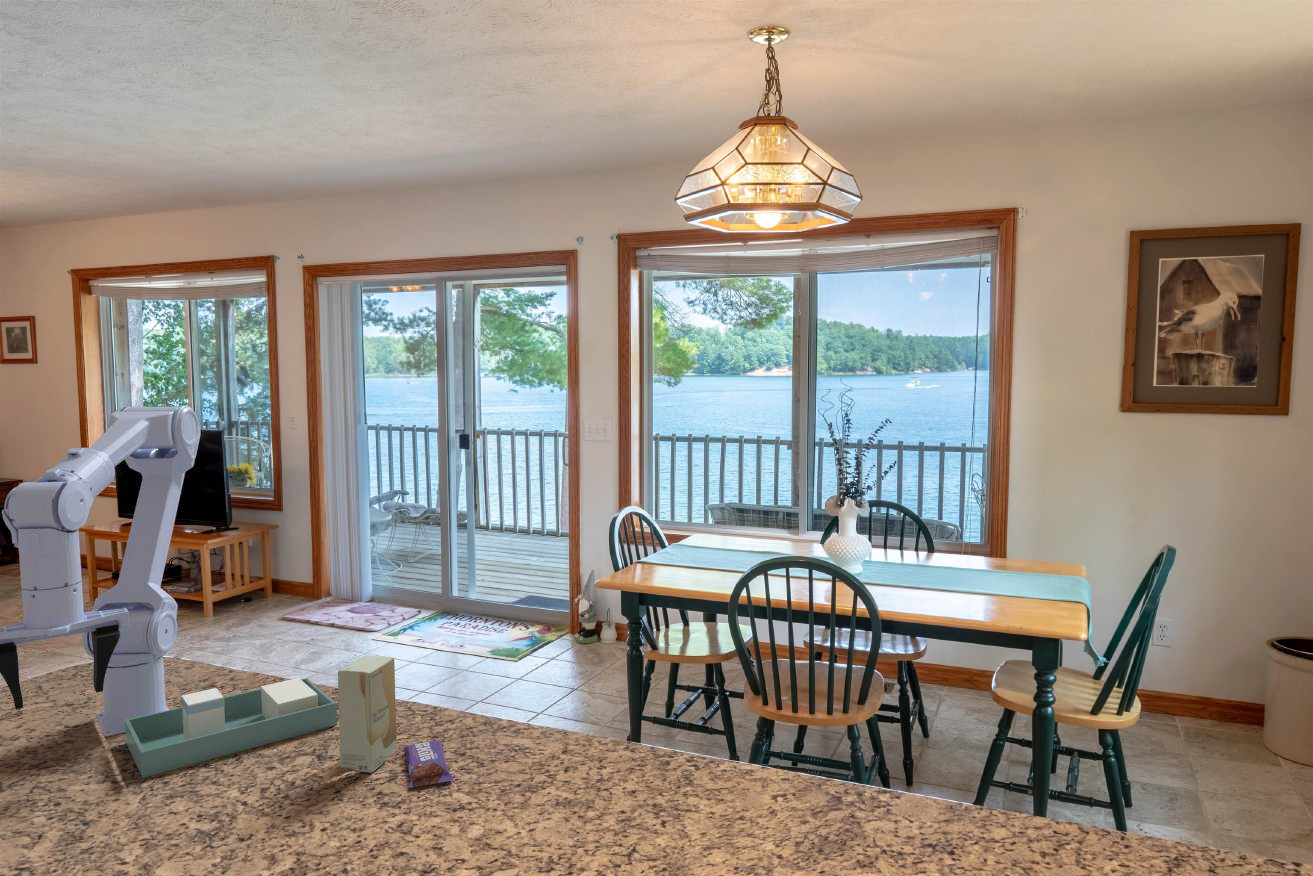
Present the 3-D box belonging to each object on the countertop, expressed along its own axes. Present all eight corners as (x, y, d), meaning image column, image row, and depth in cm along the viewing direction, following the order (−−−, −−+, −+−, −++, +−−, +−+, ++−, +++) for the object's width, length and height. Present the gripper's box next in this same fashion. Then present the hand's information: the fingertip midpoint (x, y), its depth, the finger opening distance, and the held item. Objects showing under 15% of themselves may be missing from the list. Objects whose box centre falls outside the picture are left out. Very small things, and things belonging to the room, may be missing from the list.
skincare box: (372, 774, 100) (368, 673, 99) (338, 771, 101) (335, 671, 100) (399, 750, 106) (396, 655, 105) (367, 747, 107) (364, 653, 106)
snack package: (401, 738, 106) (441, 732, 108) (401, 753, 107) (442, 746, 108) (408, 780, 96) (453, 772, 97) (409, 796, 96) (454, 788, 98)
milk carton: (183, 741, 108) (180, 695, 107) (218, 732, 110) (216, 687, 110) (190, 752, 105) (187, 705, 104) (226, 742, 107) (224, 697, 107)
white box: (262, 714, 116) (260, 686, 116) (299, 705, 119) (298, 677, 119) (279, 733, 110) (278, 704, 109) (318, 723, 113) (317, 694, 113)
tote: (126, 746, 107) (124, 720, 107) (307, 701, 122) (307, 677, 121) (142, 781, 98) (141, 752, 98) (337, 728, 113) (336, 702, 112)
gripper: (-28, 602, 90) (-19, 725, 92) (130, 580, 100) (137, 692, 101) (-29, 589, 96) (-20, 705, 97) (121, 569, 105) (127, 675, 106)
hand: (59, 697), depth 99 cm, fingers open, 7 cm apart
